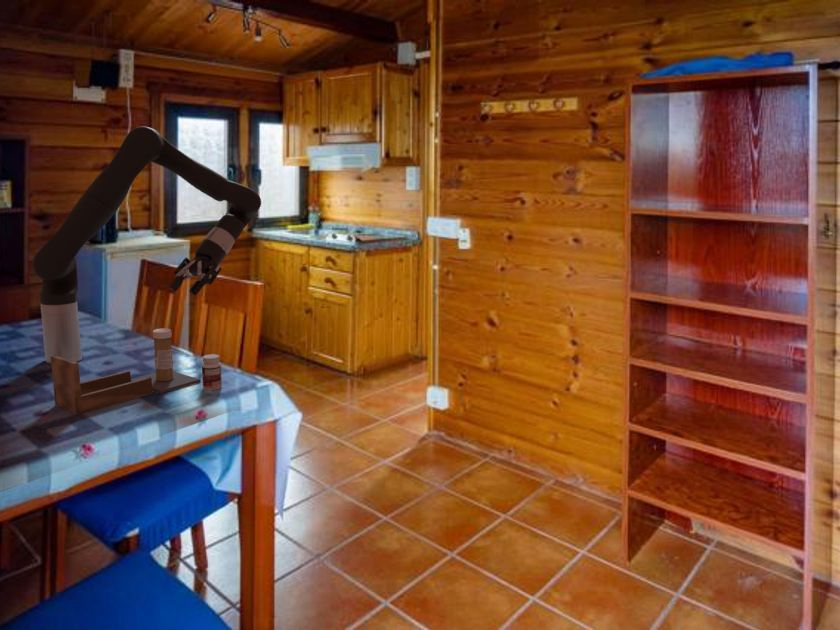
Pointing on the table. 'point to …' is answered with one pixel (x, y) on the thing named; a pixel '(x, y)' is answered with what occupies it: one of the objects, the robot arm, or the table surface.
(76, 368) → the shelf lane
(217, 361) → the pill bottle
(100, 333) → the table surface
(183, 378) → the rubber mat
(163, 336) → the sprinkles bottle
